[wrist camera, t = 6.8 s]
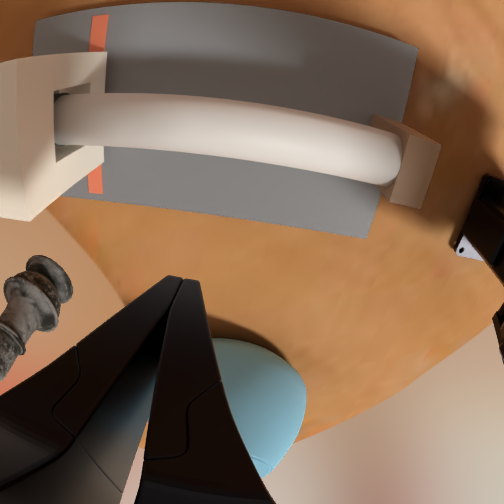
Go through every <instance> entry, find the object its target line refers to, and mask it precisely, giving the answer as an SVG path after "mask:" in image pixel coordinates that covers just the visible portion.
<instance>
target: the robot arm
mask: <svg viewBox="0 0 504 504" xmlns="http://www.w3.org/2000/svg"><path fill="white" fill-rule="evenodd" d="M488 180H490V181H489V183H488ZM487 183H488V184H487ZM460 248H461V249H460ZM459 249H460V250H459ZM454 251H455V253H456V254H457V255H458V256H462V257H467V258H472V259H476V260H481V261H485V263H486V264H487V265H488V266H489V268H490V269H491V270H492V271H493V273H494V274H495V275H496V277H497V278H498V279H499V281H500V282H501V283H502V285H503V286H504V180H502V179H500V178H498V177H495V176H493V175H491V174H485V175H484V176H483V178H482V181H481V184H480V187H479V189H478V192H477V195H476V197H475V200H474V202H473V205H472V207H471V210H470V212H469V215H468V217H467V220H466V222H465V224H464V227H463V229H462V231H461V233H460V236H459V238H458V240H457V242H456V244H455V247H454ZM492 320H493V323H494V327H495V331H496V335H497V338H498V342H499V349H500V354H501V356H502V360H503V363H504V303H503V304H502V306H501V307H500V309H499V310H498V311H496V313H495V314H494V316H493V317H492ZM76 346H77V347H76ZM76 346H73V347H72V348H70V349H69V350H68V351H66V352H65V353H64V354H62V355H61V356H60V357H58V358H57V359H56V360H55V361H53V362H52V363H50V364H49V365H48V366H46V367H45V368H43V369H41V370H40V371H38V372H37V373H35V374H34V375H32V376H31V377H29V378H28V379H26V380H25V381H23V382H21V383H20V384H18V385H16V386H15V387H13V388H12V389H10V390H9V391H7V392H5V393H4V394H2V395H1V396H0V504H119V503H120V500H121V497H122V493H123V491H124V488H125V485H126V481H127V478H128V475H129V472H130V469H131V466H132V463H133V460H134V458H135V454H136V451H137V449H138V446H139V443H140V440H141V437H142V434H143V431H144V428H145V426H146V423H147V420H148V417H149V414H150V417H149V423H148V430H147V437H146V444H145V451H144V462H143V467H142V475H141V479H140V485H139V489H138V492H137V496H136V499H135V502H134V504H276V503H275V501H274V500H273V498H272V497H271V495H270V494H269V492H268V490H267V489H266V487H265V485H264V483H263V481H262V480H261V478H260V476H259V474H258V471H257V469H256V467H255V465H254V463H253V461H252V459H251V457H250V455H249V453H248V451H247V449H246V447H245V444H244V442H243V440H242V438H241V436H240V433H239V431H238V429H237V426H236V424H235V421H234V419H233V416H232V413H231V410H230V407H229V404H228V400H227V397H226V393H225V390H224V386H223V382H222V378H221V374H220V370H219V366H218V362H217V358H216V354H215V349H214V345H213V341H212V337H211V332H210V328H209V323H208V319H207V314H206V310H205V305H204V300H203V296H202V291H201V286H200V282H199V281H197V280H192V279H187V278H186V279H184V280H183V279H182V278H181V277H176V276H171V275H168V276H166V277H165V278H163V279H162V280H161V281H159V282H158V283H156V284H155V285H154V286H152V287H151V288H150V289H148V290H147V291H146V292H144V293H143V294H142V295H140V296H139V297H138V298H136V299H135V300H134V301H132V302H131V303H129V304H128V305H127V306H125V307H124V308H123V309H122V310H120V311H119V312H118V313H116V314H115V315H114V316H112V317H111V318H110V319H108V320H107V321H106V322H104V323H103V324H102V325H100V326H99V327H98V328H96V329H95V330H94V331H93V332H91V333H90V334H89V335H87V336H86V337H85V338H83V339H82V340H81V341H80V342H78V343H77V344H76Z"/></svg>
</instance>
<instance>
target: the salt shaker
mask: <svg viewBox="0 0 504 504" xmlns="http://www.w3.org/2000/svg"><path fill="white" fill-rule="evenodd" d="M72 294H73V287H72V284H71V281H70V279H69V277H68V275H67V274H66V272H65V271H64V270H63V268H62V267H61V266H59V265H58V264H57V263H56V262H55V261H53V260H52V259H50V258H48V257H46V256H42V255H35V256H32V257H31V258H30V259H29V260H28V262H27V264H26V271H24V272H21V273H19V274H17V275H15V276H14V277H10V278H8V279H7V280H6V281H5V283H4V295H5V298H6V301H7V303H8V304H7V307H6V309H5V310H4V312H3V313H2V314H1V316H0V381H2V380H3V379H4V378H5V377H6V375H7V374H8V372H9V370H10V368H11V366H12V365H13V363H14V361H15V359H16V358H17V356H18V355H24V353H25V352H26V349H25V344H26V343H27V341H28V340H29V338H30V336H31V335H32V333H33V332H34V331H36V330H39V331H43V332H50V331H53V330H54V329H55V328H56V327H57V325H58V317H59V313H60V306H61V305H60V304H61V303H66V302H68V301H69V300H70V299H71V297H72Z"/></svg>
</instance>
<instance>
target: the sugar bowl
mask: <svg viewBox="0 0 504 504" xmlns="http://www.w3.org/2000/svg"><path fill="white" fill-rule="evenodd" d="M212 341H213V345H214V349H215V354H216V358H217V362H218V366H219V370H220V374H221V378H222V382H223V386H224V390H225V393H226V397H227V400H228V404H229V407H230V410H231V413H232V416H233V419H234V421H235V424H236V426H237V429H238V431H239V433H240V436H241V438H242V440H243V442H244V444H245V447H246V449H247V451H248V453H249V455H250V457H251V459H252V461H253V463H254V465H255V467H256V469H257V471H258V474H259V476H260V478H262V477H264V476H266V475H267V474H269V473H270V472H271V471H272V470H273V469H274V468H275V467H276V466H277V465H278V463H279V462H280V461H281V459H282V458H283V457H284V455H285V453H286V452H287V451H288V449H289V448H290V447H291V445H292V444H293V442H294V440H295V438H296V437H297V435H298V432H299V430H300V428H301V425H302V422H303V418H304V414H305V409H306V387H305V384H304V382H303V380H302V378H301V376H300V375H299V373H298V372H297V371H296V370H295V369H294V368H293V367H292V366H291V365H290V364H289V363H287V362H286V361H285V360H284V359H282V358H281V357H279V356H278V355H276V354H275V353H273V352H271V351H269V350H267V349H266V348H263V347H261V346H258V345H256V344H253V343H249V342H246V341H241V340H236V339H228V338H212ZM149 417H150V414H149ZM149 417H148V422H149Z"/></svg>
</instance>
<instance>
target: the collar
mask: <svg viewBox="0 0 504 504" xmlns="http://www.w3.org/2000/svg"><path fill="white" fill-rule="evenodd" d="M106 62H107V52H79V53H63V54H51V55H41V56H32V57H25V58H18V59H13V60H9V61H5V62H1V63H0V217H3V218H9V219H16V220H22V221H29V222H30V221H31V220H32V219H33V218H35V217H36V216H37V215H38V214H39V213H40V212H41V211H42V210H44V209H45V208H46V207H47V206H48V205H50V204H51V203H52V202H53V201H54V200H56V199H57V198H58V197H59V196H60V195H62V194H63V193H64V192H65V191H67V190H68V189H69V188H70V187H72V186H73V185H74V184H75V183H77V182H78V181H79V180H81V179H82V178H83V177H85V176H86V175H87V174H88V173H90V172H91V171H92V170H94V169H95V168H97V167H98V166H99V165H101V164H102V163H103V162H104V146H88V145H65V146H62V147H55V140H54V91H56V90H59V93H69V94H70V95H71V94H93V93H105V76H106Z"/></svg>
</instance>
